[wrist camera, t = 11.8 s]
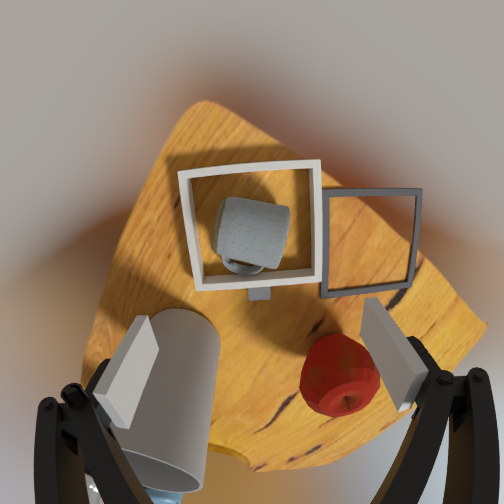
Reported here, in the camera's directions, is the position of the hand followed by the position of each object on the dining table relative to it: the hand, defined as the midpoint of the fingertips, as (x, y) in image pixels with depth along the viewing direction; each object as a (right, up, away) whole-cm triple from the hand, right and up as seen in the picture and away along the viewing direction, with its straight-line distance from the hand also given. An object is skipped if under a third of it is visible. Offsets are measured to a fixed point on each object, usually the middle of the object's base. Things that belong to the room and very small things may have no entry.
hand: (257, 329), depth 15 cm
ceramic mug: (0, +7, +21) cm, 22 cm away
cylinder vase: (-11, -10, +27) cm, 31 cm away
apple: (+13, -11, +28) cm, 33 cm away
